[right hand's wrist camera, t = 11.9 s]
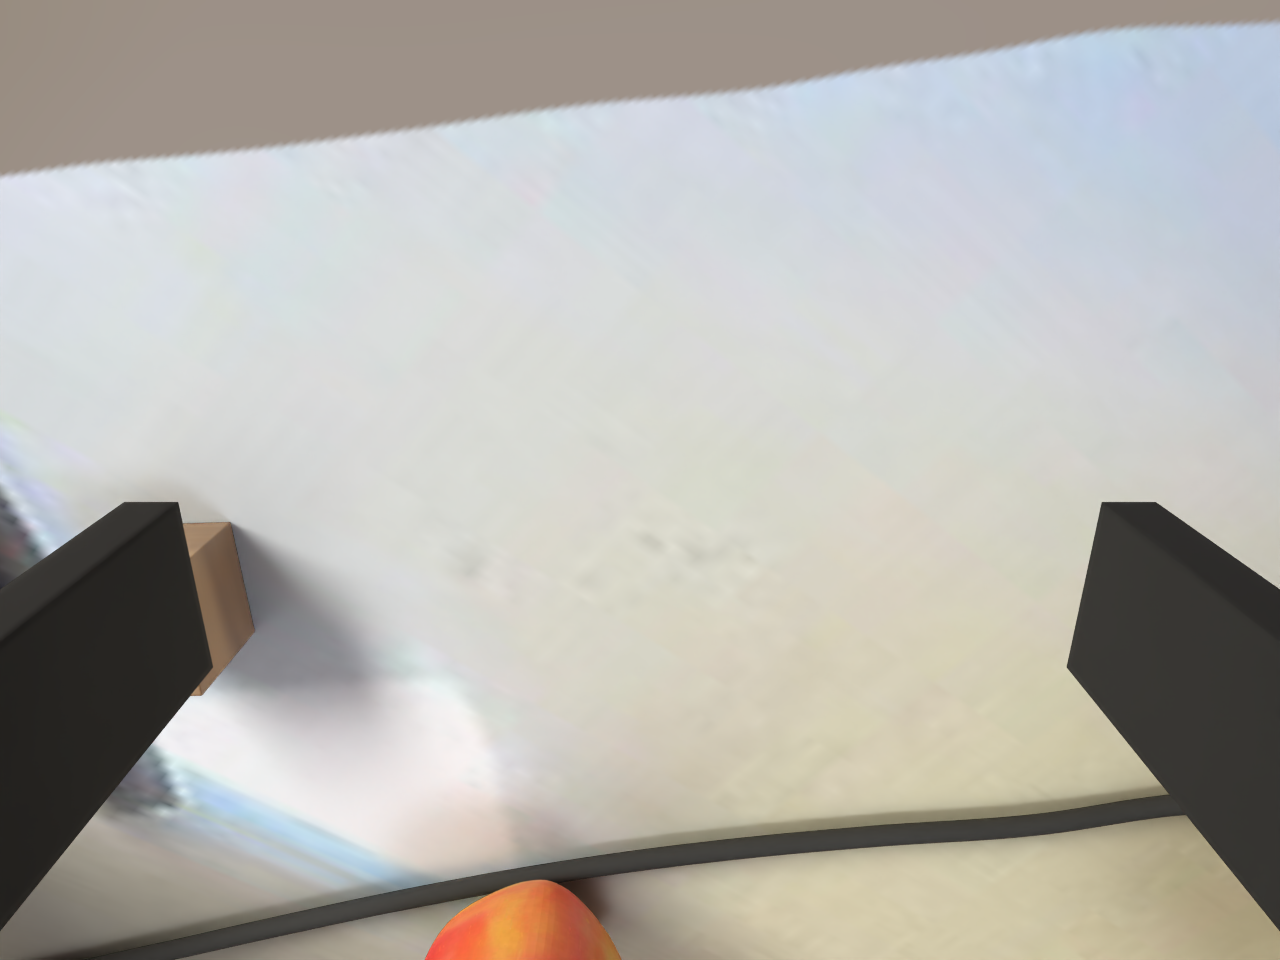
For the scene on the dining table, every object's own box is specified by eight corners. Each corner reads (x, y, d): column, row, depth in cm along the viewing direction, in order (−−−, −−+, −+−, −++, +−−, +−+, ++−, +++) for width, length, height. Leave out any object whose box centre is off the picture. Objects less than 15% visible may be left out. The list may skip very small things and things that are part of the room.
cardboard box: (230, 521, 35) (170, 574, 31) (255, 631, 37) (202, 696, 33) (120, 524, 35) (45, 577, 31) (150, 634, 37) (83, 699, 33)
